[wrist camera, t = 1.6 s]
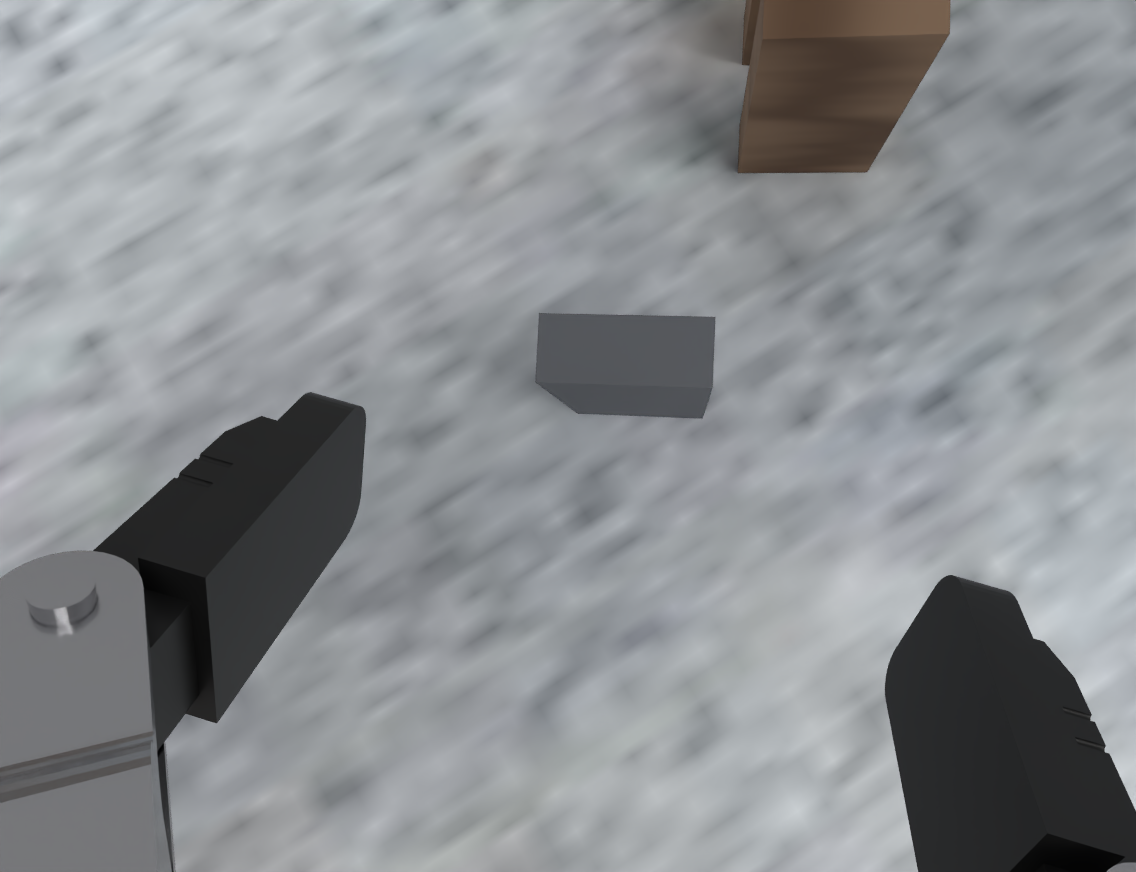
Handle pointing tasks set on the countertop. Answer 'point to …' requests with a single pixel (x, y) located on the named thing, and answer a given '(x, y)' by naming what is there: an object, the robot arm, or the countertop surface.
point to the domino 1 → (627, 363)
